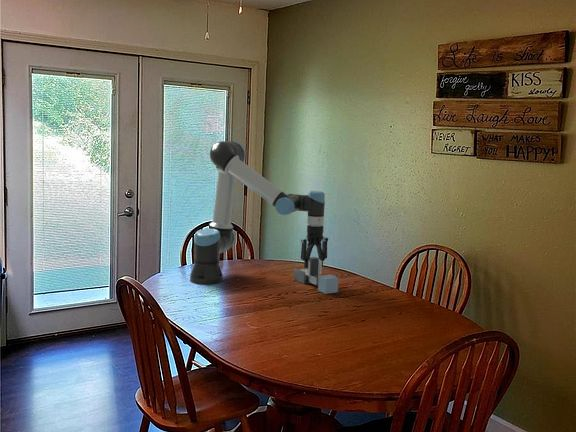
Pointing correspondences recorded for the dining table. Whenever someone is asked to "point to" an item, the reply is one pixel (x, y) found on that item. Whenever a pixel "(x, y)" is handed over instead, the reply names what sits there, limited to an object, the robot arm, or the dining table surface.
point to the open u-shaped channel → (300, 276)
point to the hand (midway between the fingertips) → (313, 274)
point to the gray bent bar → (313, 271)
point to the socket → (328, 284)
